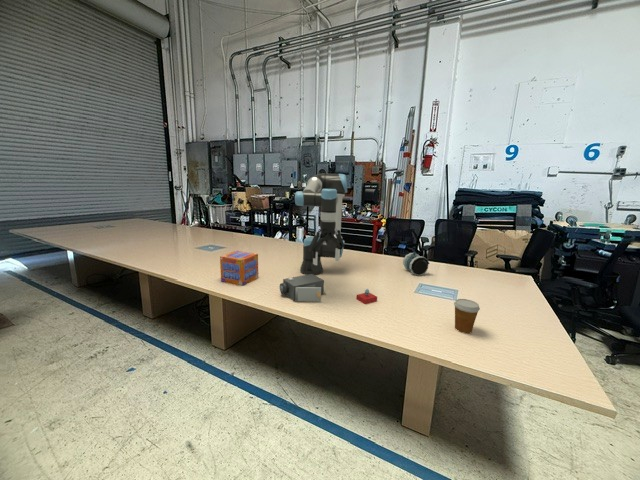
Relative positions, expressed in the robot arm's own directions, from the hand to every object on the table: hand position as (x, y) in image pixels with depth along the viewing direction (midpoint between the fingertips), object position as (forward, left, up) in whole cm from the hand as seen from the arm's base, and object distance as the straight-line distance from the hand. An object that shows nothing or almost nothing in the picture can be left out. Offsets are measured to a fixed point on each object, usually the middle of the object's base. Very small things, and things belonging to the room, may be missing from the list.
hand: (326, 262), depth 141 cm
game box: (+29, -48, -19) cm, 59 cm away
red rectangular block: (-17, +12, -20) cm, 29 cm away
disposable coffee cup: (-32, +55, -19) cm, 67 cm away
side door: (+10, -1, -19) cm, 21 cm away
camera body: (+8, -11, -19) cm, 23 cm away
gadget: (-78, -5, -19) cm, 81 cm away
